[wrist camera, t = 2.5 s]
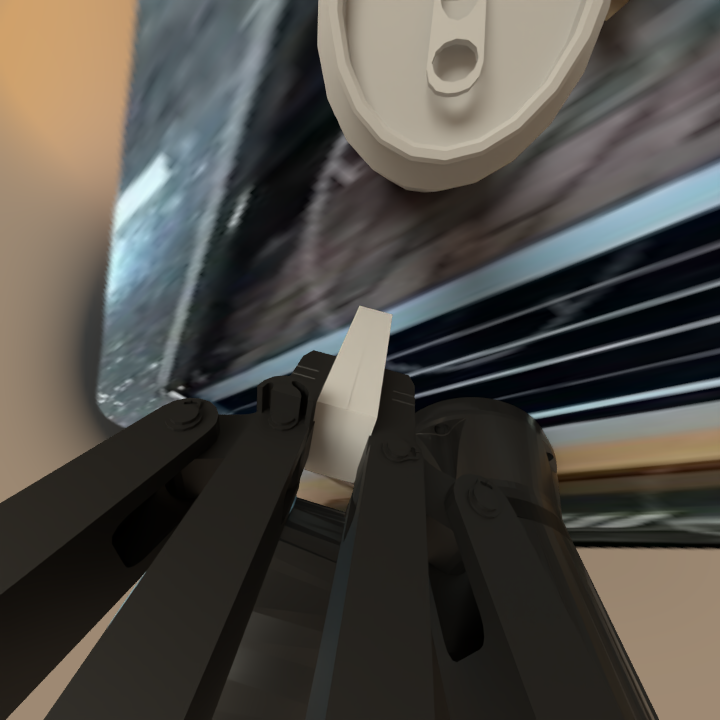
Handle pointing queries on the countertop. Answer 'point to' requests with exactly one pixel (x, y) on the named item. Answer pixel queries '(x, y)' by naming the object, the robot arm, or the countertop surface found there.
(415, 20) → the can
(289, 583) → the robot arm
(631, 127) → the countertop surface
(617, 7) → the wooden bracket
